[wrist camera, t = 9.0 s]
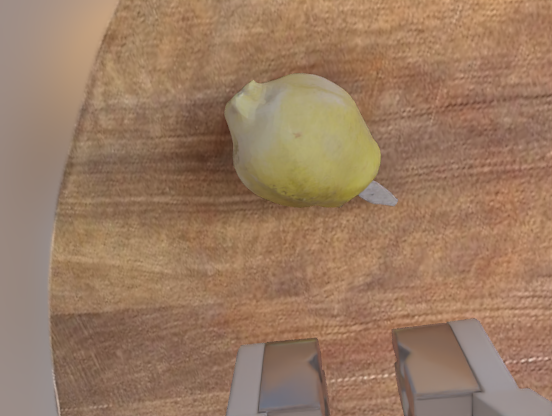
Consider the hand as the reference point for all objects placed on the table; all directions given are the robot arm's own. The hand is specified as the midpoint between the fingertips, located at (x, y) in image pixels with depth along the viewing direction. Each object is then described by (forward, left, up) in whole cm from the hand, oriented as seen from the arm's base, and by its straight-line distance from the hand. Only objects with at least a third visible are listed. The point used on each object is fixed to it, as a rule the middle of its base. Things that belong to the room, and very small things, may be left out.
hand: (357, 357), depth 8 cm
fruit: (0, 0, -15) cm, 15 cm away
